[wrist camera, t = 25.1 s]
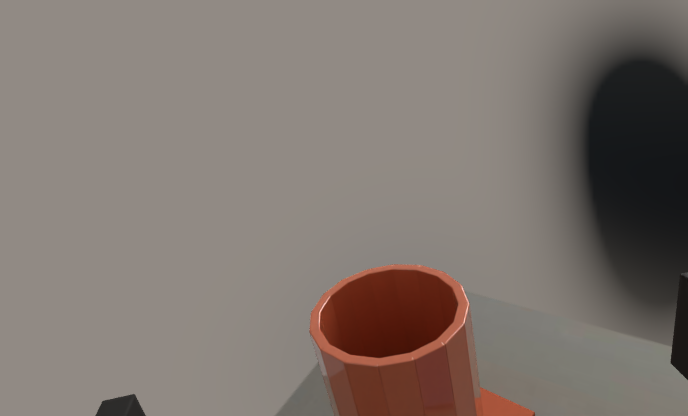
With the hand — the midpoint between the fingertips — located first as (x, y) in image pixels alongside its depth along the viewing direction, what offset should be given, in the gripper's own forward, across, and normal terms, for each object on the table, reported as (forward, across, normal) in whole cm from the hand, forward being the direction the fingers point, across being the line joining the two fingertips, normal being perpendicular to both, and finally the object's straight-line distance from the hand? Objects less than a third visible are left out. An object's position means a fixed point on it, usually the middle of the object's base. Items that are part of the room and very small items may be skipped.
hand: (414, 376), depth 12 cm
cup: (+10, 0, -15) cm, 18 cm away
